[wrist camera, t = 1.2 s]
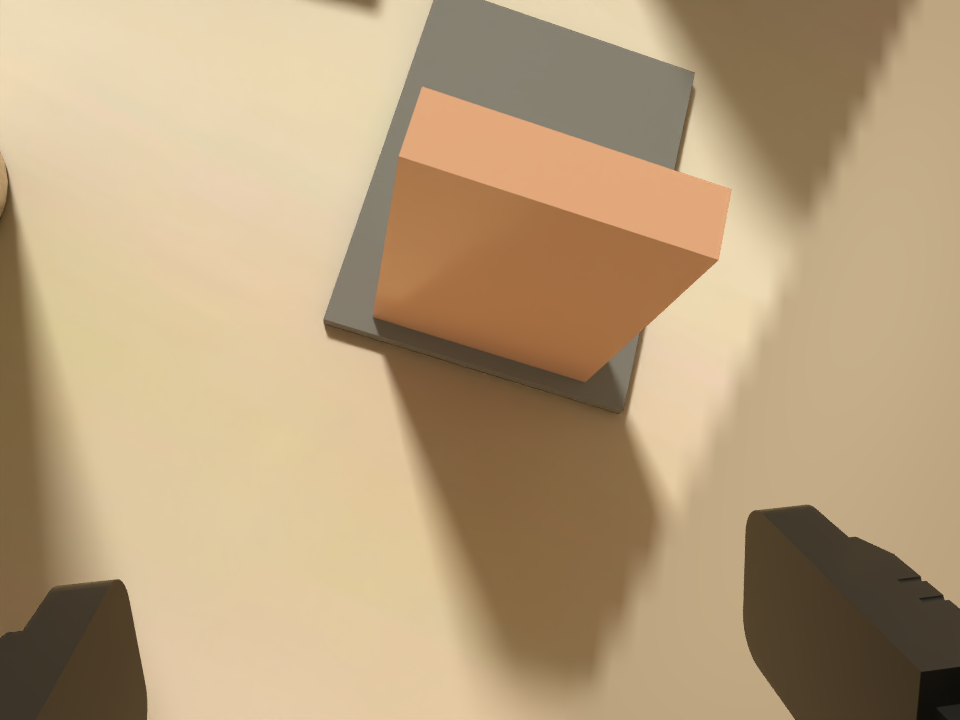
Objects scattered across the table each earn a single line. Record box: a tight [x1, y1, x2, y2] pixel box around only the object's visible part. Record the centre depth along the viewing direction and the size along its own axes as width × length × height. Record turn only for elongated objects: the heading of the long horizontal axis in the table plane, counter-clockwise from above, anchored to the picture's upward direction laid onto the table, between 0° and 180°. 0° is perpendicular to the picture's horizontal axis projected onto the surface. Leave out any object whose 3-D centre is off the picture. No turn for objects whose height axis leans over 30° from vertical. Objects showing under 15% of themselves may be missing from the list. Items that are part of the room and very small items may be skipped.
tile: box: [373, 87, 732, 382], centre depth 33 cm, size 10×3×14 cm, turn 75°
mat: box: [324, 0, 695, 413], centre depth 42 cm, size 14×19×1 cm
